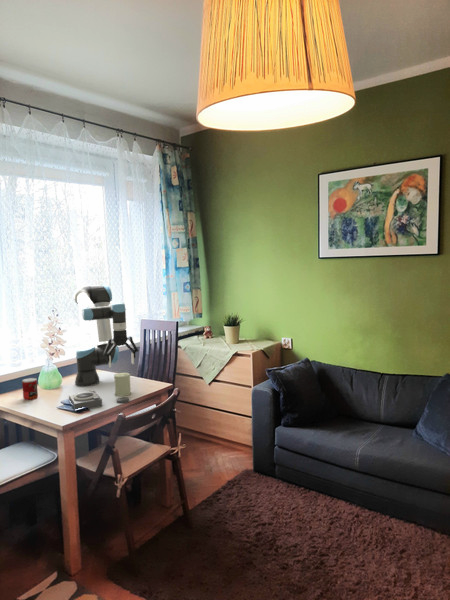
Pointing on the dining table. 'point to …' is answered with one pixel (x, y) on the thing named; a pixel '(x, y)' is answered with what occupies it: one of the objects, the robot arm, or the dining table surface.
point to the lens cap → (123, 400)
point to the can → (122, 384)
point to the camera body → (86, 400)
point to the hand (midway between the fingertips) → (121, 365)
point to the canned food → (30, 388)
